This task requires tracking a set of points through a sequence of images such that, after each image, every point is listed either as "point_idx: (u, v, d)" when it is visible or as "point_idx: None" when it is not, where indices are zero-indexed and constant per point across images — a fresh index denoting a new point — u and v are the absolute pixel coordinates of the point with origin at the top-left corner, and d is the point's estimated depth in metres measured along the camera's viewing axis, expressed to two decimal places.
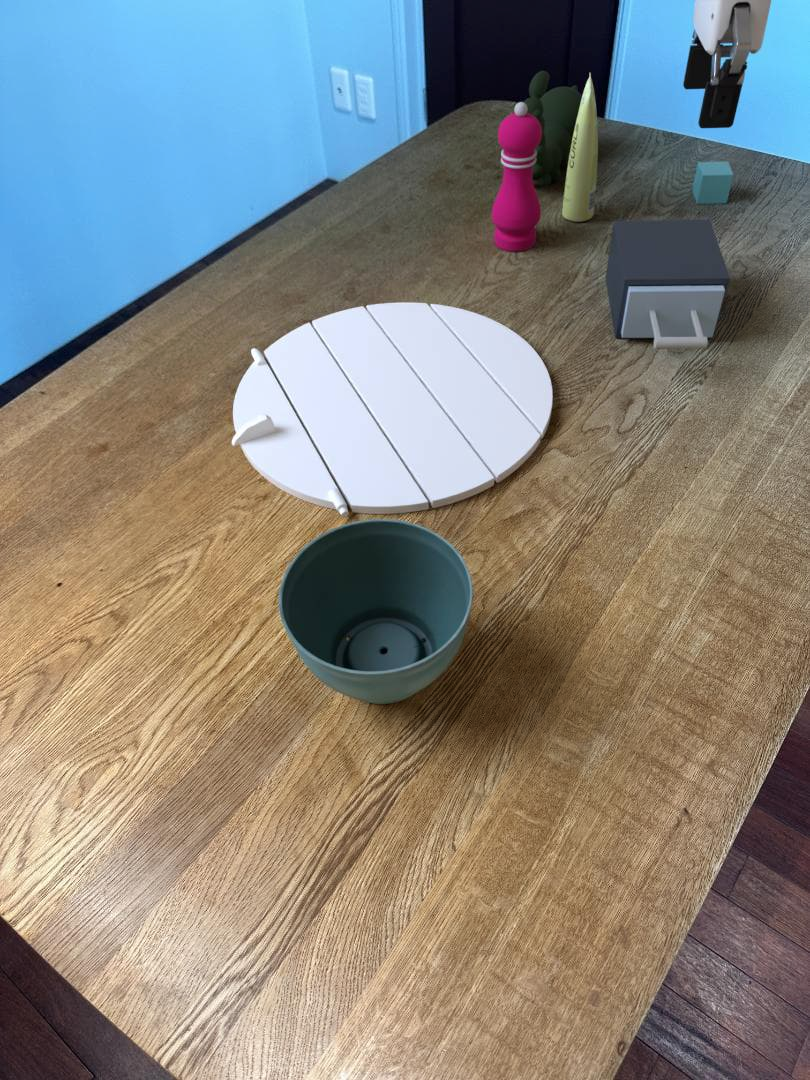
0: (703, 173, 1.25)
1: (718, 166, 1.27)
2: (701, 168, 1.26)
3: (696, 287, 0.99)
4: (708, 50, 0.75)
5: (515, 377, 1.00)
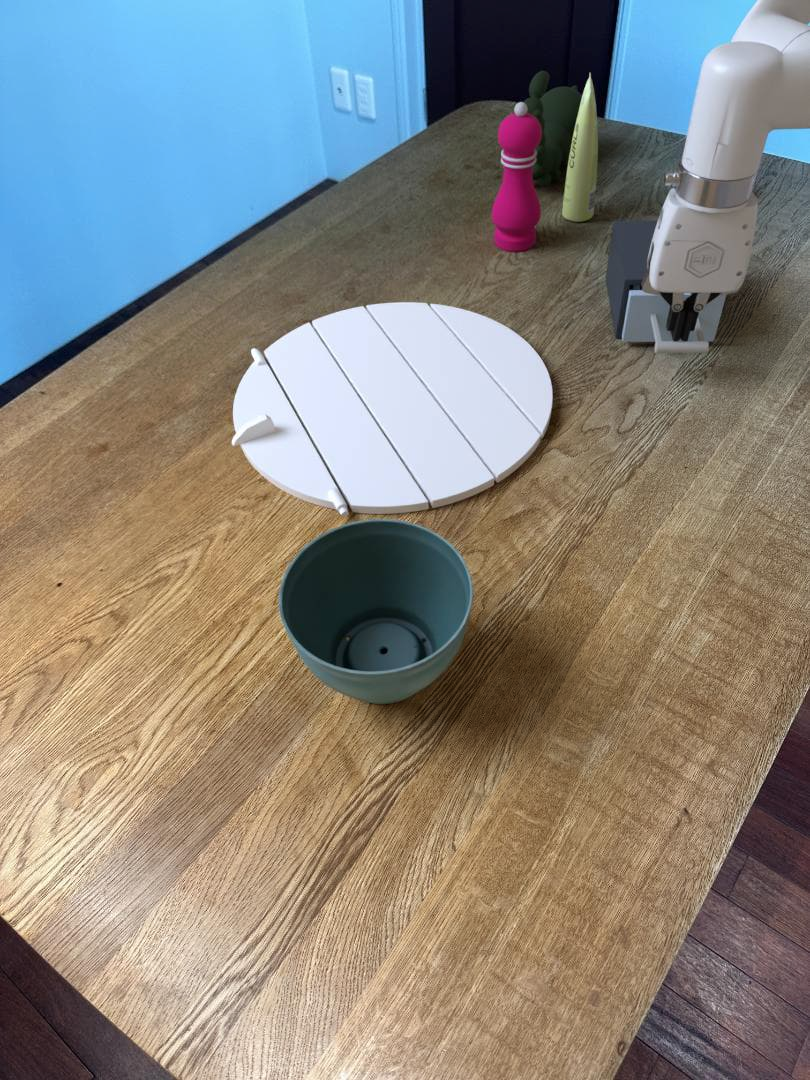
0: None
1: None
2: None
3: None
4: None
5: (515, 377, 1.00)
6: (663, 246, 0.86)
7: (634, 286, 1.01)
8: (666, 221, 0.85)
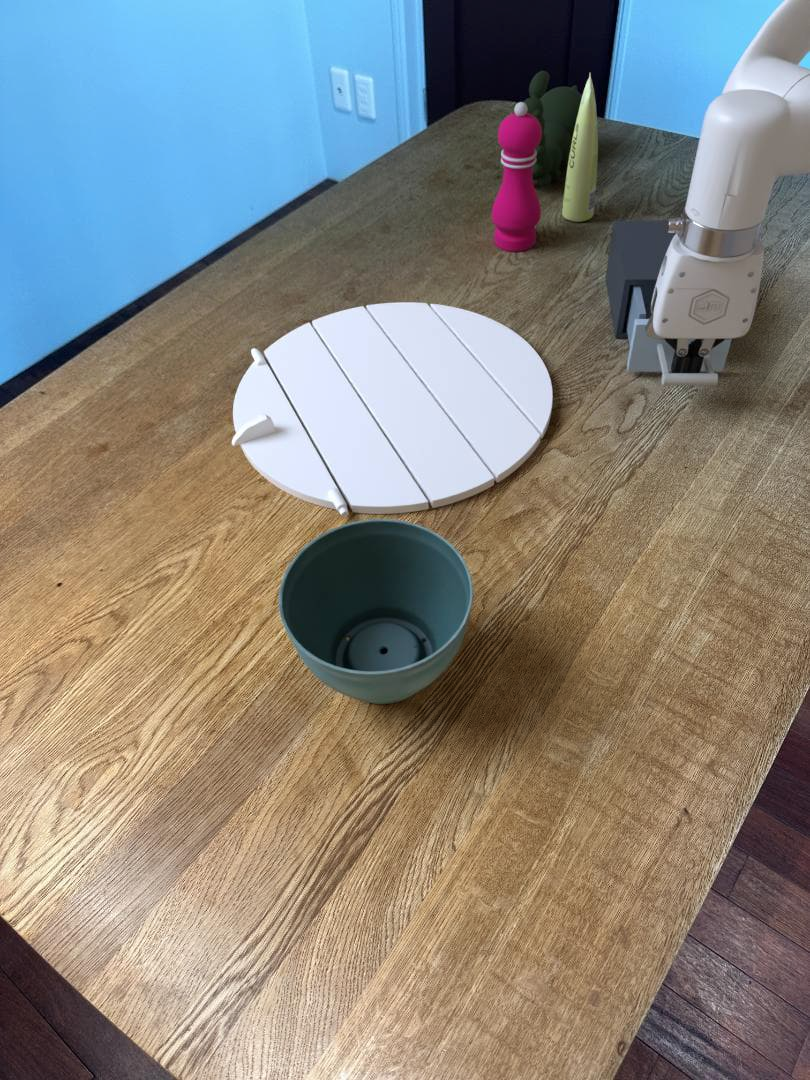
0: None
1: None
2: None
3: None
4: None
5: (515, 377, 1.00)
6: (666, 293, 0.84)
7: (640, 314, 0.97)
8: (669, 269, 0.83)
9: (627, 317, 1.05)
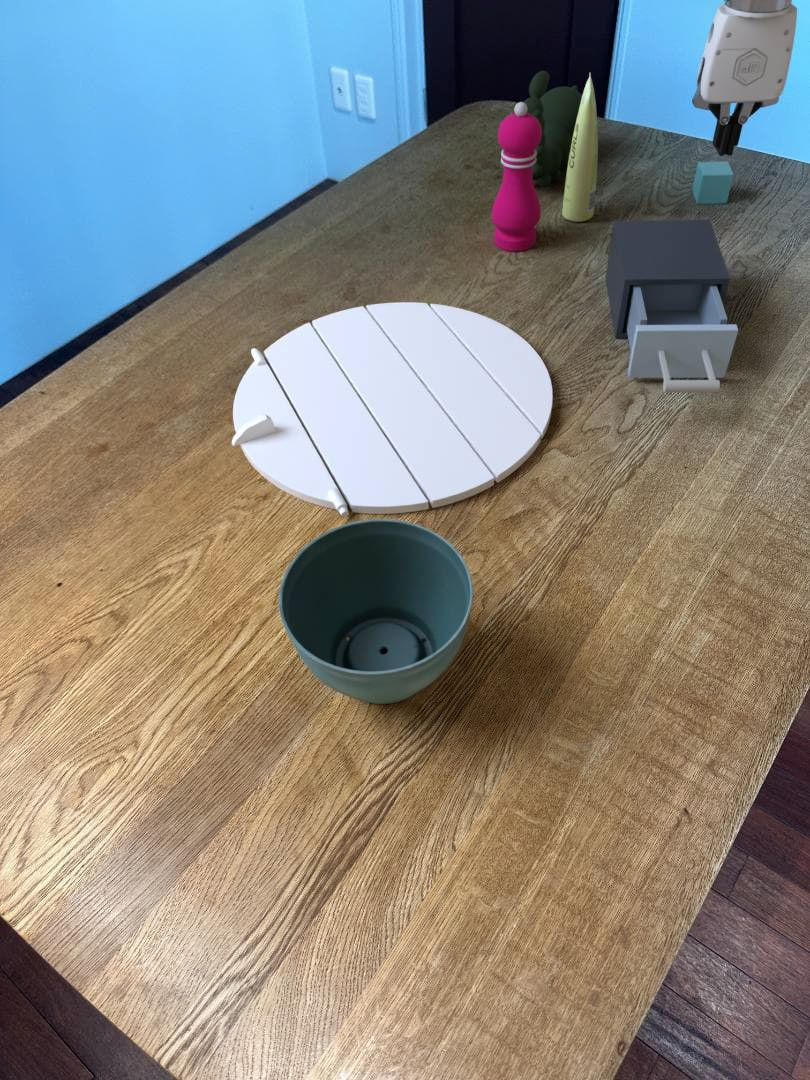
0: (703, 173, 1.25)
1: (718, 166, 1.27)
2: (701, 168, 1.26)
3: (708, 326, 0.94)
4: None
5: (515, 377, 1.00)
6: (714, 56, 0.99)
7: (641, 320, 0.96)
8: (717, 31, 0.98)
9: (628, 322, 1.04)
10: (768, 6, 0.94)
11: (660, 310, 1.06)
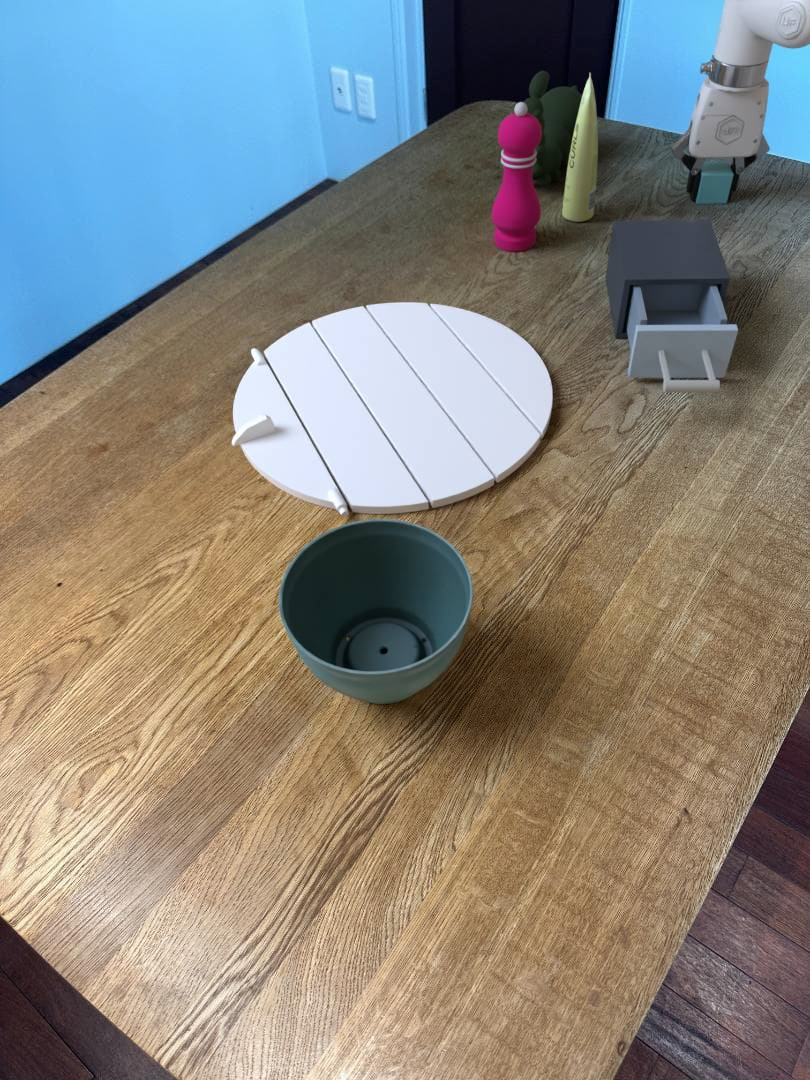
0: (703, 173, 1.25)
1: (718, 166, 1.27)
2: (701, 168, 1.26)
3: (708, 326, 0.94)
4: None
5: (515, 377, 1.00)
6: (699, 120, 1.19)
7: (641, 320, 0.96)
8: (702, 100, 1.17)
9: (628, 322, 1.04)
10: (743, 82, 1.14)
11: (660, 310, 1.06)
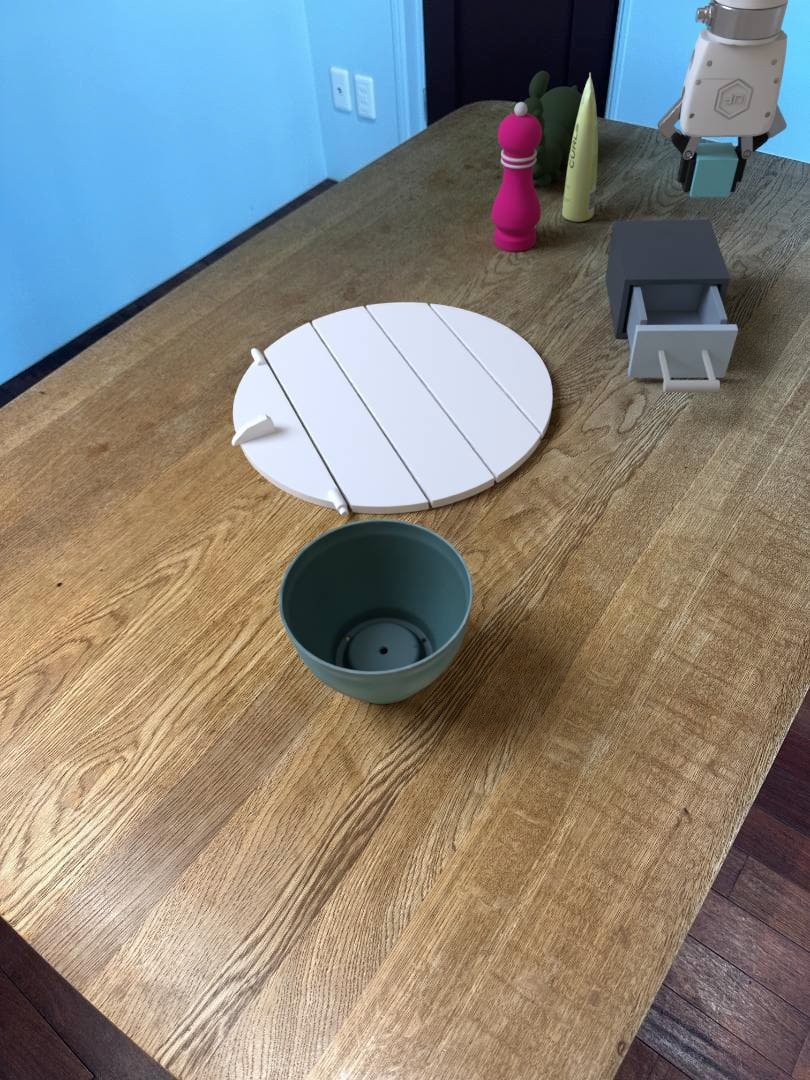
0: (699, 157, 0.96)
1: (719, 148, 0.97)
2: (696, 151, 0.97)
3: (708, 326, 0.94)
4: None
5: (515, 377, 1.00)
6: (694, 85, 0.90)
7: (641, 320, 0.96)
8: (697, 59, 0.88)
9: (628, 322, 1.04)
10: (753, 33, 0.84)
11: (660, 310, 1.06)
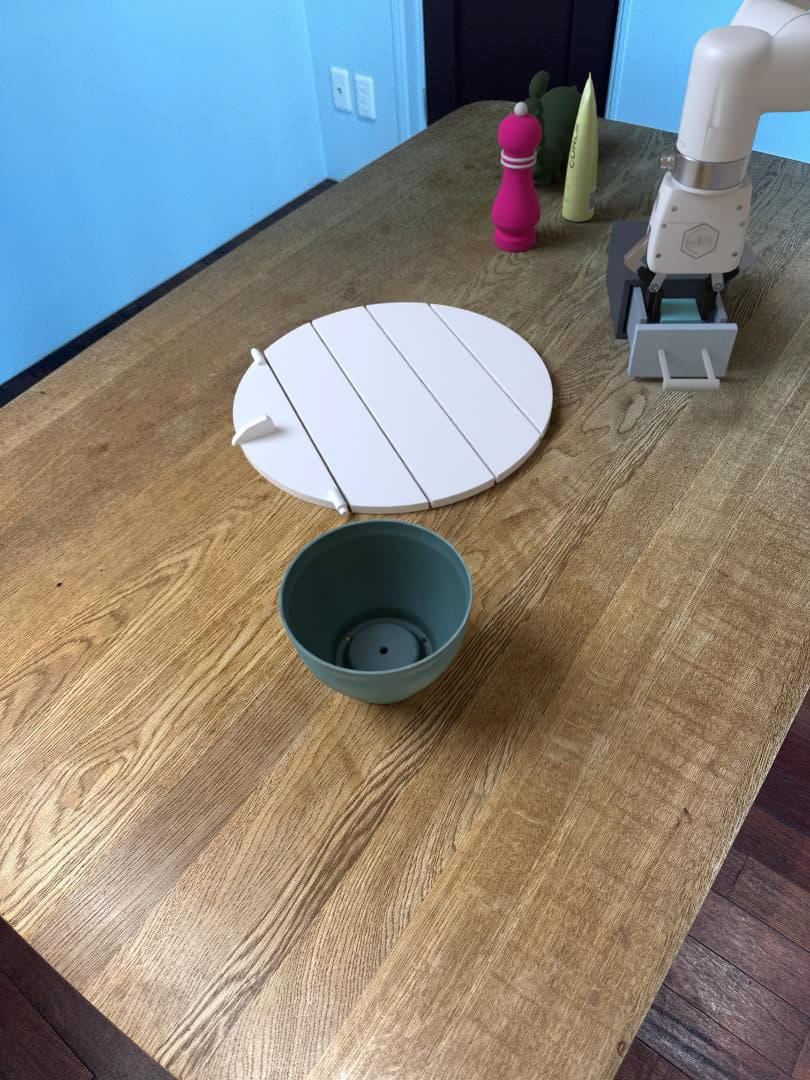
0: (662, 317, 0.98)
1: (682, 306, 0.99)
2: (660, 309, 0.99)
3: (707, 325, 0.94)
4: None
5: (515, 377, 1.00)
6: (659, 228, 0.88)
7: (641, 319, 0.96)
8: (662, 204, 0.87)
9: (628, 322, 1.04)
10: (716, 184, 0.83)
11: None
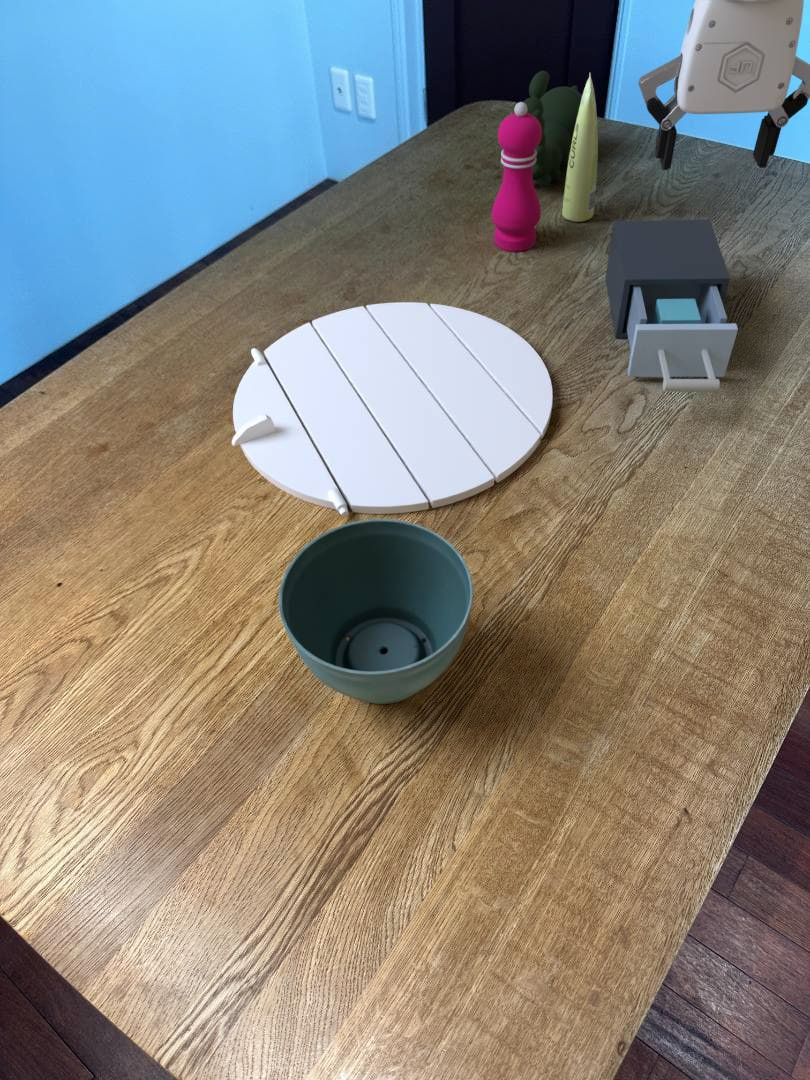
0: (662, 317, 0.98)
1: (682, 306, 0.99)
2: (660, 309, 0.99)
3: (707, 325, 0.94)
4: None
5: (515, 377, 1.00)
6: (694, 51, 0.75)
7: (641, 319, 0.96)
8: (697, 19, 0.74)
9: (628, 322, 1.04)
10: None
11: None
